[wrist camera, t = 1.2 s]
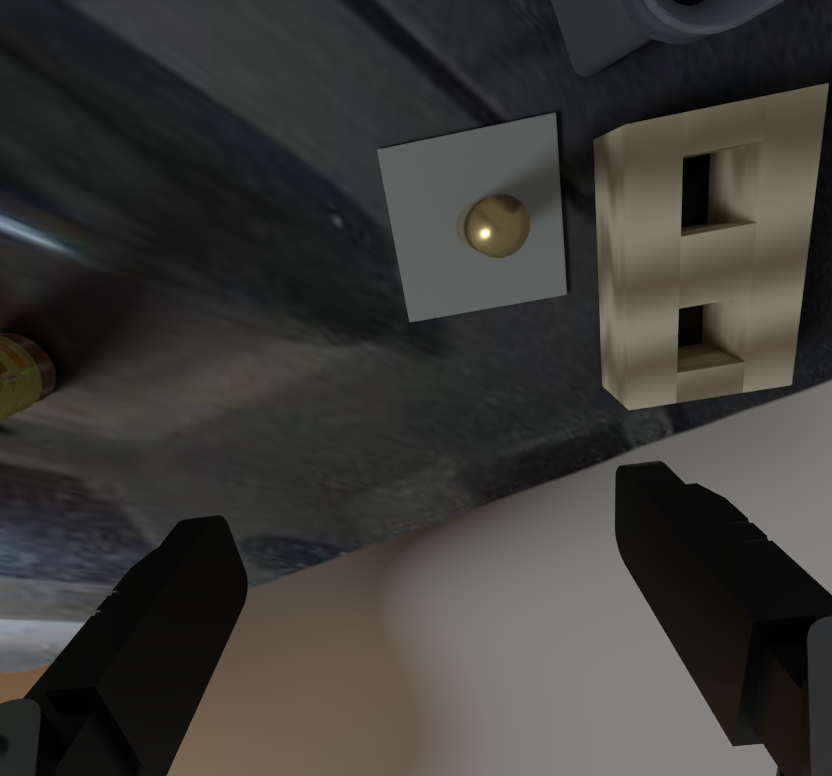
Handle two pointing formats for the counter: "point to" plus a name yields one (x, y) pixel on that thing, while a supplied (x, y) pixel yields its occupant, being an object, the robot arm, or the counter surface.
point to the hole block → (706, 247)
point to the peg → (494, 226)
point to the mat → (464, 185)
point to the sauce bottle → (23, 374)
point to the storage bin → (643, 25)
